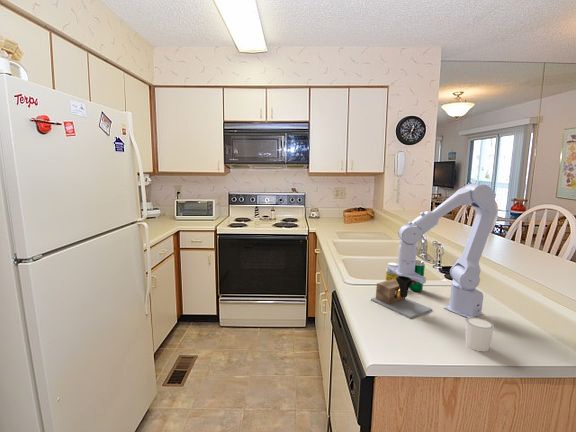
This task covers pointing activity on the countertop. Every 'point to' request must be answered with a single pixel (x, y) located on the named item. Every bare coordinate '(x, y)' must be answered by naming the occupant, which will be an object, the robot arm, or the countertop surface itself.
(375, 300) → the base plate
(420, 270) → the soda can
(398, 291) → the shaft
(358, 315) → the countertop surface
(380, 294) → the bearing block
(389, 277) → the supplement bottle
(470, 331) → the white cup
